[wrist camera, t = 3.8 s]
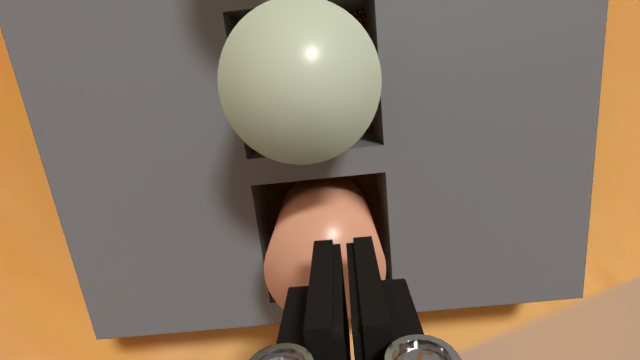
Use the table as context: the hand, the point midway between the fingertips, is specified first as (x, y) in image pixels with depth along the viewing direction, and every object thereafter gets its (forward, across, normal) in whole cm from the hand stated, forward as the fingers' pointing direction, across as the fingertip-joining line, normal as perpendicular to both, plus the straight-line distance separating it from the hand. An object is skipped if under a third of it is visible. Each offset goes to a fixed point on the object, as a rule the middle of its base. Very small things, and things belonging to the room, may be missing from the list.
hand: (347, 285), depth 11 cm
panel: (+7, +1, -6) cm, 9 cm away
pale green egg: (+5, +1, -6) cm, 7 cm away
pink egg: (+6, +1, 0) cm, 6 cm away
